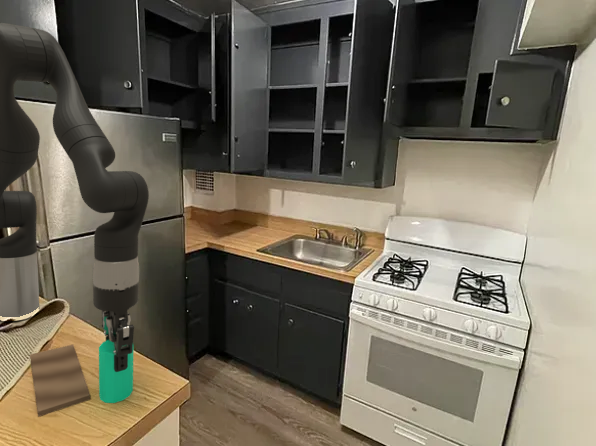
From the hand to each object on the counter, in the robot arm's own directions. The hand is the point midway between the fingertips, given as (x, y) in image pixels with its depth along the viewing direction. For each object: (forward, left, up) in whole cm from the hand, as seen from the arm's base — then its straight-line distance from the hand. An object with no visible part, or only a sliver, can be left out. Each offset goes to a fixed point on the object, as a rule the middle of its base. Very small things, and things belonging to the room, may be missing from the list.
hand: (116, 360), depth 67 cm
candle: (0, 0, -7) cm, 7 cm away
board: (-7, -12, -7) cm, 15 cm away
